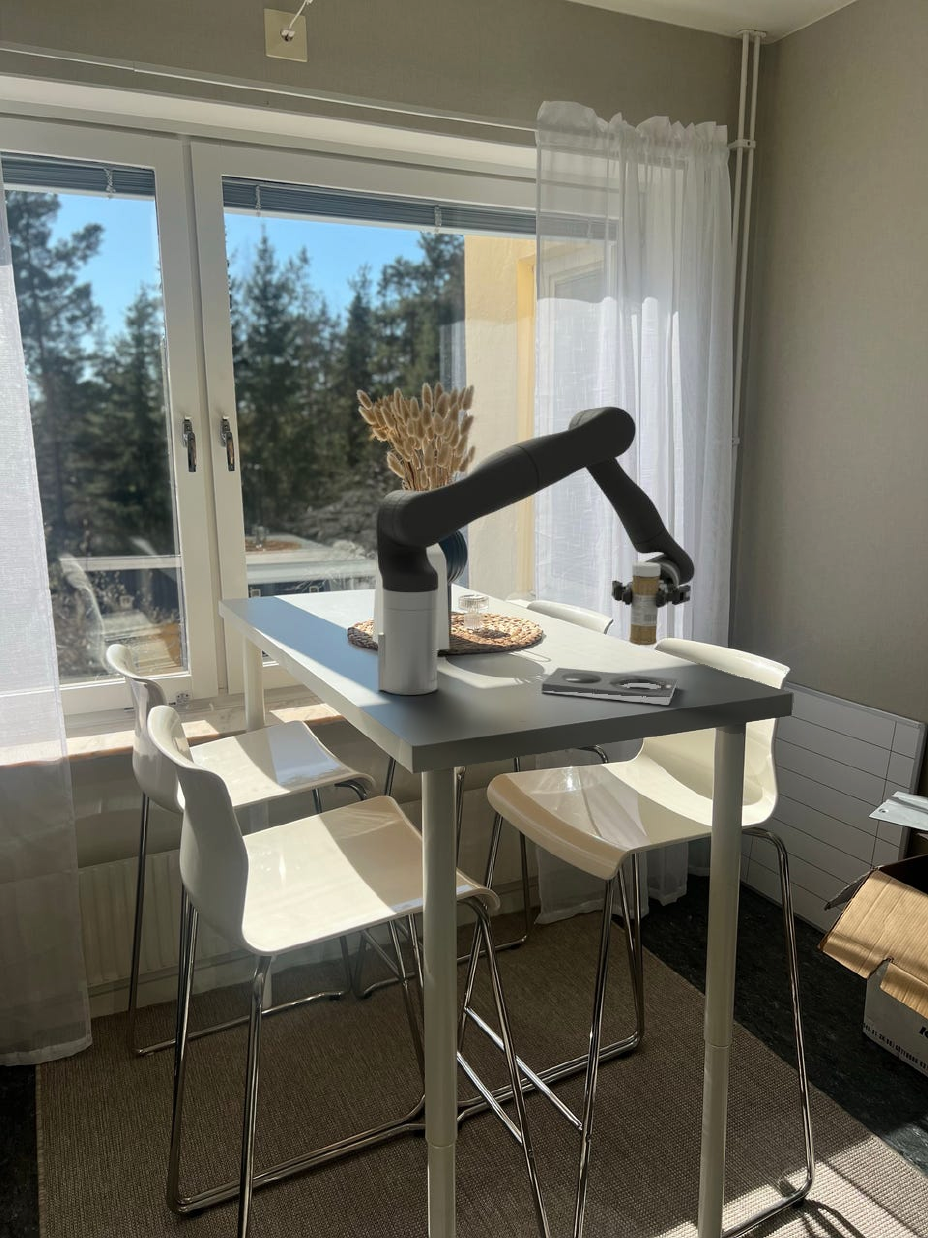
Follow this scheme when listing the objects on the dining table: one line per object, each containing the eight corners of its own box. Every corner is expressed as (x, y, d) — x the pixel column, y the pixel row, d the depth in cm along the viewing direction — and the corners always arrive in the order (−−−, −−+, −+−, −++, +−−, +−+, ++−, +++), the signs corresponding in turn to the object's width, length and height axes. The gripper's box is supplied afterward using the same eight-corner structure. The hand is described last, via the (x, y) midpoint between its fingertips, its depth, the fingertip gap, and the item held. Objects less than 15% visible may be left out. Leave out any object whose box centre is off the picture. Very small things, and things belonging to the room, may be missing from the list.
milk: (424, 639, 194) (425, 516, 189) (449, 650, 184) (451, 520, 179) (372, 644, 188) (371, 517, 183) (394, 655, 178) (395, 522, 173)
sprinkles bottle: (652, 640, 155) (656, 561, 152) (659, 646, 150) (664, 565, 147) (625, 640, 154) (629, 561, 152) (632, 646, 150) (636, 565, 147)
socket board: (541, 692, 153) (542, 682, 153) (557, 676, 164) (558, 667, 164) (668, 706, 146) (669, 695, 146) (676, 688, 158) (677, 678, 157)
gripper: (617, 561, 165) (600, 574, 150) (698, 565, 161) (689, 579, 145) (615, 601, 167) (598, 619, 151) (695, 607, 163) (686, 625, 147)
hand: (643, 599), depth 148 cm, fingers closed on sprinkles bottle, 4 cm apart
